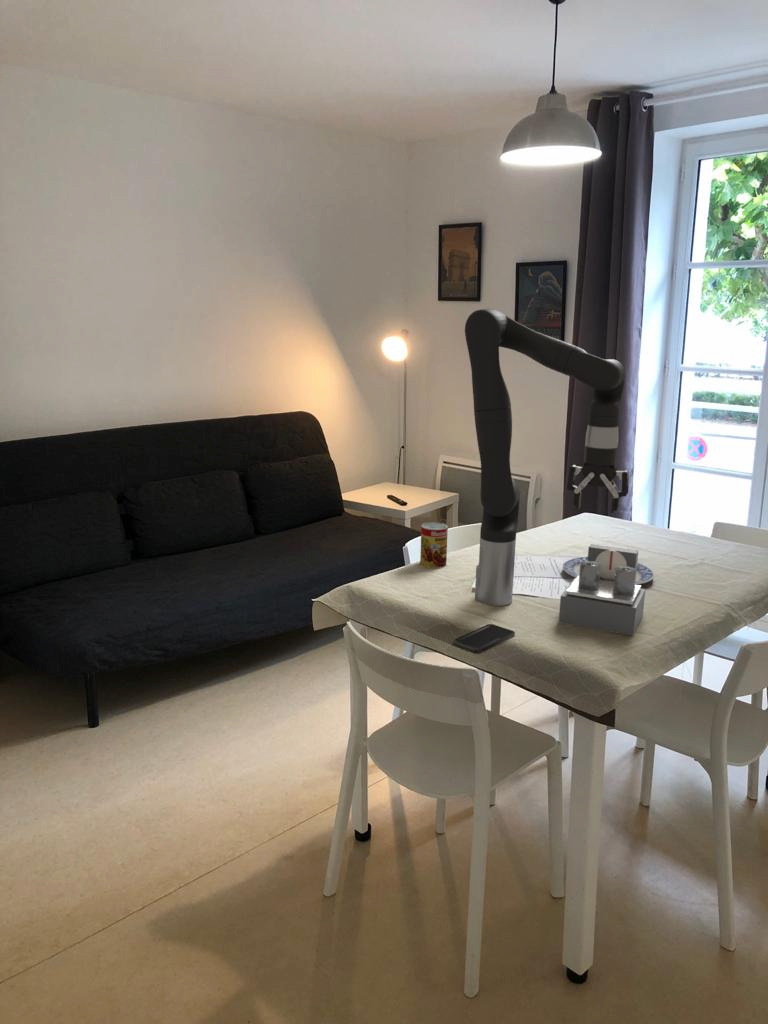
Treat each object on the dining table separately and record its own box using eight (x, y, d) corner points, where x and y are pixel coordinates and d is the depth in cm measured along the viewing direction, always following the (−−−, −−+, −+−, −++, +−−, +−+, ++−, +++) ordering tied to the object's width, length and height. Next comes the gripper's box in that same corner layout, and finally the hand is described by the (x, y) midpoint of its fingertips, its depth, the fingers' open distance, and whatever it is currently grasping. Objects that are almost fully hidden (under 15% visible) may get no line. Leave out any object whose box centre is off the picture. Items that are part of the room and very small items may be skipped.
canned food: (436, 570, 243) (438, 530, 240) (415, 564, 248) (416, 526, 245) (451, 563, 249) (452, 525, 246) (429, 558, 254) (431, 520, 251)
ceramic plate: (658, 595, 226) (660, 585, 225) (562, 587, 231) (563, 577, 230) (648, 566, 250) (649, 557, 250) (561, 560, 255) (562, 551, 254)
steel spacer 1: (576, 588, 205) (578, 564, 204) (580, 582, 210) (582, 559, 208) (596, 591, 203) (598, 567, 202) (600, 585, 208) (602, 562, 206)
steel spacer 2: (614, 595, 201) (616, 571, 199) (611, 588, 206) (613, 565, 204) (635, 596, 200) (638, 572, 199) (632, 589, 205) (634, 566, 203)
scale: (558, 622, 205) (563, 560, 201) (574, 599, 221) (579, 542, 217) (633, 635, 197) (639, 572, 194) (644, 611, 213) (650, 552, 209)
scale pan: (565, 593, 204) (566, 590, 203) (577, 578, 215) (577, 575, 215) (632, 604, 197) (632, 601, 197) (640, 588, 208) (641, 585, 208)
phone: (451, 640, 191) (490, 623, 202) (451, 645, 191) (489, 627, 202) (479, 650, 186) (517, 632, 197) (479, 655, 186) (516, 636, 197)
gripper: (568, 444, 197) (562, 509, 201) (629, 449, 191) (622, 517, 195) (575, 439, 203) (570, 503, 208) (634, 444, 198) (628, 510, 202)
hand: (595, 510), depth 201 cm, fingers open, 8 cm apart
